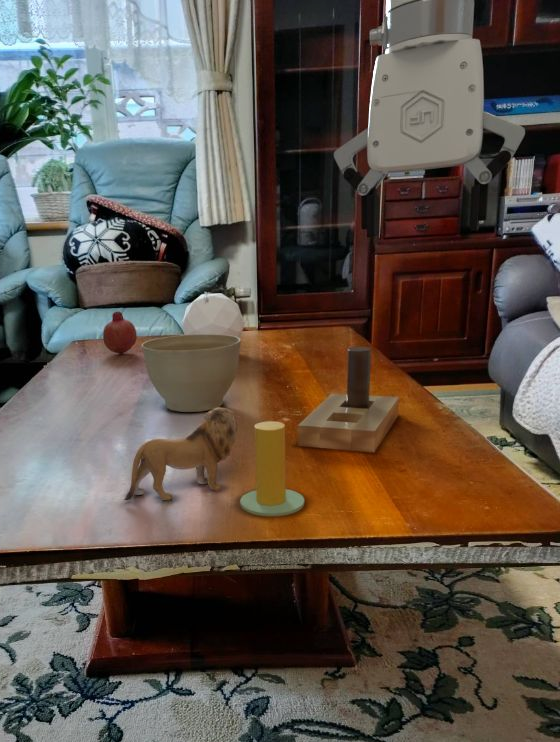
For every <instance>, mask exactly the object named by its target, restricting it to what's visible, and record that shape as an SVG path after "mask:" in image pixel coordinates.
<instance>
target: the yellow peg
mask: <svg viewBox="0 0 560 742" xmlns="http://www.w3.org/2000/svg"><path fill="white" fill-rule="evenodd" d="M253 426H254V457H255V458H254V460H255V461H254V463H255V490H256V500H257V502H258V503H260V504H262V505H268V506H273V505H279V504H282V503H284V502H285V501H286V489H287V487H286V486H287V483H286V482H287V479H286V476H287V473H286V424H285V423H284V422H281V421H275V420H274V421H273V420H272V421H271V420H269V421H261V422H257V423H256V424H254V425H253Z"/></svg>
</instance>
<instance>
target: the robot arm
mask: <svg viewBox="0 0 560 742" xmlns="http://www.w3.org/2000/svg"><path fill="white" fill-rule="evenodd" d="M474 11H475V0H385V15H384V16H383V22H382V23H381V25H380V26H378V27H376V28H373V29H370V30H369V45H370V47H375V46H378V47H382V48H383V50H385V52H384V53H382V54H380V55H377V56H376V58H375V64H374V69H373V75H372V81H371V88H370V89H371V90H370V99H369V101H370V102H369V111H368V127H366V128H365V129H364V130H363V131H361V132H360V133H358V134H356V135H355V136H354V137H353V138H351V139H350V140H348V141H347V142H345V143H344V144H343V145H341V146H340V147H338V148H337V149H336V150H335V151H334V152H333V158H334V160H335V162H336V164H337V166H338V168H339V171H340V172H341V174H342V176H343V178H344V181H346V182H347V183H348V184H349V185H350V186H351V187H352V188H353V189H354V190H355V191H356V192H357V194H358V195H360V196H361V202H360V203H361V206H360V208H361V209H360V210H361V211H360V214H361V215H360V217H361V218H360V222H361V224H360V225H361V226H360V227H361V230H362V231H363V230H365V231H366V239H372V238H376V237H378V236H380V223H381V222H380V220H381V219H380V217H381V216H380V213H381V212H380V211H381V210H380V209H381V208H380V207H381V196H380V195H379V194H377V193H378V191H377V190H378V189H377V188H378V187H379V186H380V185H381V184H382V182H383V181H384V179H385V178H386V177H387V175H388V174H389V173H391V174H392V173H407V172H413V171H414V172H415V171H422V170H424V171H425V170H432V169H442V168H451V167H459V166H465V167H466V169H467V170H468V171H469V172H470V174H471V175H472V176H473V177H474V181H473V186H471V187H470V203H469V204H470V205H469V220H468V221H469V223H468V230H470V231H472V232H473V231H479V229H480V222H482V221H487V217H488V205H489V189H490V188H489V187H490V183H491V182H492V181H493V180H494V179H495V178H496V177H497V176H498V175H499V174H500V173H501V172H502V171H503V170H504V169H505V168H506V166H507V165H508V164H509V163H510V162H511V160H512V159H513V157H514V155H515V154H516V151H518V148H519V146H520V144H521V142H522V141H523V139H524V137H525V135H526V129H525V127H523V126H522V125H518V124H516V123H514V122H512V121H510V120H506V119H505V118H502V117H500V116H497V115H494V114H492V113H490V112H487V111H485V110H484V109H485V108H484V107H485V106H484V105H485V103H484V101H485V90H484V89H485V88H484V87H485V86H484V85H485V84H484V64H483V53H482V52H483V51H482V45H481V41H480V39H478V38H473V35H474V34H473V32H474V13H475V12H474ZM484 130H485V131H488V132H489V133H494V134H496V135H497V136H500V137H502V138H503V139H504V143H503V144H502V146H501V148H500V150H499V152H498V153H497V154H496V155H495V157H493V158H492V160H490V162H489V163H488V164H487V165H486V164H485V163H484V161H482V159H481V158H480V155H481V152H482V147H483V141H484ZM365 148H366V153H367V154H366V156H367V164H368V166H369V168H370V169H369V170H368V171H367V173H366V174H365V176H364V175H363V174H362V173H361V172H360V171H359V170H358V169H357V168H356V165H355V163H354V159H353V158H354V156H355V155H356V154H358V153H359V152H361V151H362V150H365Z"/></svg>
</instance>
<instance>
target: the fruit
mask: <svg viewBox="0 0 560 742" xmlns="http://www.w3.org/2000/svg"><path fill="white" fill-rule="evenodd" d="M111 317H112V319H111V321H109V322H108V323H107V322H106V324H105V325H104V327H103V332H102V339H103V340H102V341H103V343H104V345H105V347H106V349H108V350H109V351H110V352H112V353H115V354H119V355H123V354H124V353H127V352H128V351H129V350H131V349H132V347H134V345H135V344H136V342H137V330H136V327H135V325H134V324H133V323H132V321H130V320H128V319H125V318H124V315H123V313H122V312H121V311H120V310H119V311H114V312H112V316H111Z"/></svg>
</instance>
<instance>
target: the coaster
mask: <svg viewBox="0 0 560 742" xmlns="http://www.w3.org/2000/svg"><path fill="white" fill-rule="evenodd" d="M239 505H240V507H241V509H242V510H244V511H245V512H247V513H249V514H252V515H255V516H261V517H281V516H282V517H283V516H289V515H292V514H295V513H297V512H299V511H300V510H302V509H303V508H304V506H305V497H304V496H303V495H302V494H301V493H299V492H298V491H294V490H292V489H287V488H286V501H285V502H284V503H282V504H279V505H273V506H268V505H262V504H260V503H258V502H257V500H256V489H255V490H252V491H248V492H247V493H245V494H244V495H242V496H241V498H240V500H239Z"/></svg>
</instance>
